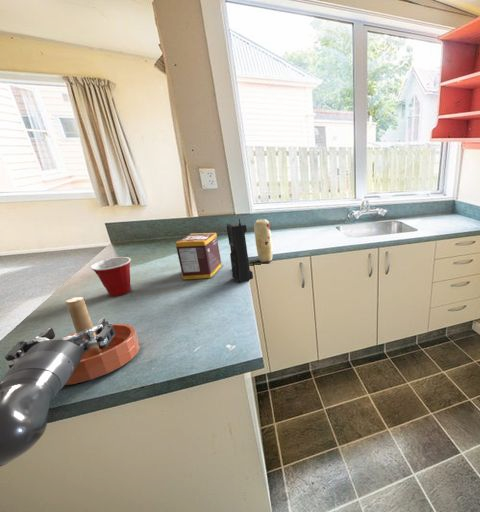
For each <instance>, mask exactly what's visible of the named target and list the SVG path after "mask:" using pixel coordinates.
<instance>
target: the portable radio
mask: <svg viewBox="0 0 480 512" xmlns="http://www.w3.org/2000/svg"><path fill="white" fill-rule="evenodd" d="M226 231H227V239H228V245H229V247H230V253H229V257H230V264H231V266H230V267H231V277H232V278H233V279H234V280H235V281H237V283H244V282H248V281H250V280H252V279H254V275H253V274H254V273H253V271H252V270H251V268H250V261H249V255H248V247H247V240H246V233H247V232H248V230H247V225H246V224H245V223H242V222H241V218H238V222H233V223H232V222H231V223H230V222H229V223H227V224H226Z"/></svg>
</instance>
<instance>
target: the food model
mask: <svg viewBox="0 0 480 512" xmlns="http://www.w3.org/2000/svg"><path fill="white" fill-rule="evenodd" d="M253 231H254V240H255V246H256V253H257V257H258V261H260V262H261V263H263V262H271V261H273V240H272V232H271V226H270V221H269V220H267V219H266V218H259V219H257V220H256V221H254V223H253Z"/></svg>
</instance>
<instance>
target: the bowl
mask: <svg viewBox="0 0 480 512" xmlns="http://www.w3.org/2000/svg"><path fill="white" fill-rule="evenodd" d="M108 324H109V323H108ZM110 324H112V325H113V328H114V331H115V336H114V337H113V339H112V340H111V342H110V343H109V345H108V346H107V347H106V348H104V349H101V352H102V353H101V354H98V355H95V356H92V357H89V358H85V355H84V353H83V355H82V359H81V361H80V363H79V364H78V366H77V367H76V369H75V370H74V372H73V373H72V375H71V376H70V378H69V380H68V381H67V383H66V384H65V385H64V386H68V385H76V384H79V383H84V382H88V381H91V380H94V379H97V378H99V377H102V376H105V375H107V374H109V373H111V372H113V371H115V370H117V369H120V368H121V367H123V366H124V365H126V364H127V363H128V362H130V361H132V360H133V359H134V358H135V356H136V355H137V354H138V353H139V351H140V348H141V346H140V342H139V339H138V335H137V332H136V329H135V327H134V326H133V325H131V324H127V323H110ZM110 324H109V325H110ZM94 327H95V326H93V328H94ZM75 334H77V332H76V331H75V332H72V333H70V334H68V335H65V336H63V337H62V338H66V337H68V336H73V335H75ZM95 334H96V335H97V332H95Z"/></svg>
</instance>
